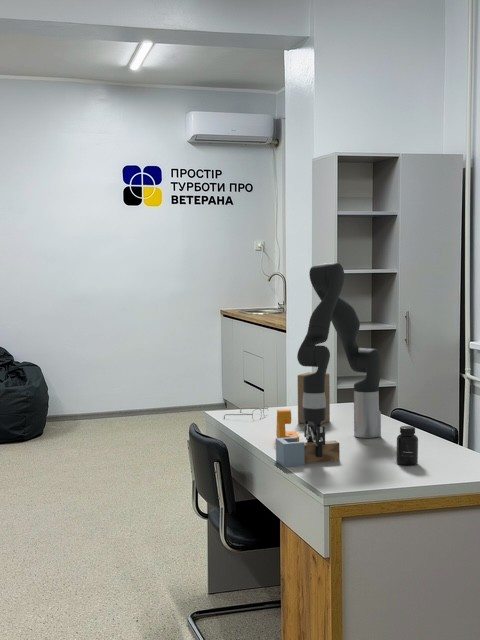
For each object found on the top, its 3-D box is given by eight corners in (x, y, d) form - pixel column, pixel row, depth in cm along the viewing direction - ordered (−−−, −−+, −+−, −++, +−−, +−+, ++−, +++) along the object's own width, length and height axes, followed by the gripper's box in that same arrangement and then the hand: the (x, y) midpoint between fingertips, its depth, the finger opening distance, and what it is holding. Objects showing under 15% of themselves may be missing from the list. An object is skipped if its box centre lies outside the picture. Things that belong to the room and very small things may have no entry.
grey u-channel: (296, 459, 272) (295, 437, 272) (304, 465, 264) (304, 442, 263) (276, 460, 271) (275, 438, 270) (283, 466, 262) (283, 443, 262)
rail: (335, 458, 273) (334, 440, 273) (339, 461, 269) (339, 443, 269) (289, 461, 270) (289, 443, 269) (293, 464, 265) (293, 446, 265)
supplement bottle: (405, 467, 259) (405, 430, 259) (392, 462, 266) (392, 426, 265) (422, 464, 263) (422, 427, 262) (408, 460, 269) (408, 424, 268)
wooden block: (330, 421, 338) (329, 373, 337) (319, 425, 330) (318, 376, 328) (308, 419, 343) (308, 372, 342) (297, 423, 335) (297, 374, 334)
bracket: (299, 444, 295) (299, 411, 295) (279, 445, 295) (279, 412, 294) (295, 438, 306) (295, 406, 305) (276, 438, 306) (276, 407, 305)
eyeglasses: (255, 422, 341) (255, 410, 341) (223, 419, 348) (223, 408, 347) (270, 415, 355) (270, 404, 355) (240, 413, 362) (240, 402, 362)
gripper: (332, 408, 262) (332, 458, 263) (317, 401, 276) (318, 448, 277) (310, 409, 260) (310, 460, 261) (296, 402, 274) (297, 450, 275)
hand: (314, 454), depth 269 cm, fingers open, 8 cm apart
